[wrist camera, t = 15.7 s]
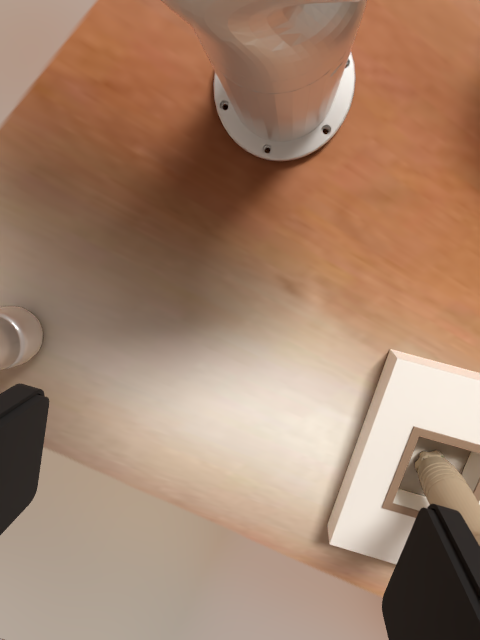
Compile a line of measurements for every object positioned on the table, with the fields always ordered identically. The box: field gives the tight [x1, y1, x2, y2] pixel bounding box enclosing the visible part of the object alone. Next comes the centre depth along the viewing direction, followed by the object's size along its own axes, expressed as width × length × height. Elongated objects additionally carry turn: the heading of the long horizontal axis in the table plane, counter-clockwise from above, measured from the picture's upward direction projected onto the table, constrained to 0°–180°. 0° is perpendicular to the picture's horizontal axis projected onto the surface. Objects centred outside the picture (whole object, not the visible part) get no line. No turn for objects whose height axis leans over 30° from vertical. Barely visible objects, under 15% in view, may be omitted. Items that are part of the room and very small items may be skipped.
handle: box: [415, 450, 480, 546], centre depth 37 cm, size 5×6×15 cm
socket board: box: [327, 349, 480, 565], centre depth 43 cm, size 22×16×3 cm
